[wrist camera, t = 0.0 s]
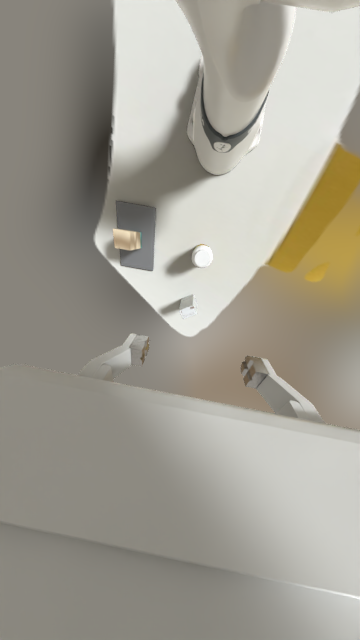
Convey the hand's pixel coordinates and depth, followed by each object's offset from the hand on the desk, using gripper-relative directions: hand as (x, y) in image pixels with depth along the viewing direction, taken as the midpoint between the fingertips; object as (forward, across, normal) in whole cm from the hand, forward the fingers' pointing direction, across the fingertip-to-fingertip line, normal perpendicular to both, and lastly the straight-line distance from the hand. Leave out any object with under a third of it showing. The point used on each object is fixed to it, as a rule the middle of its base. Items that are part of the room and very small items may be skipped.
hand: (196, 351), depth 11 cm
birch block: (+47, +24, -4) cm, 53 cm away
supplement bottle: (+48, -1, -3) cm, 48 cm away
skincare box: (+48, 0, +16) cm, 51 cm away
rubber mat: (+48, +24, -4) cm, 54 cm away
